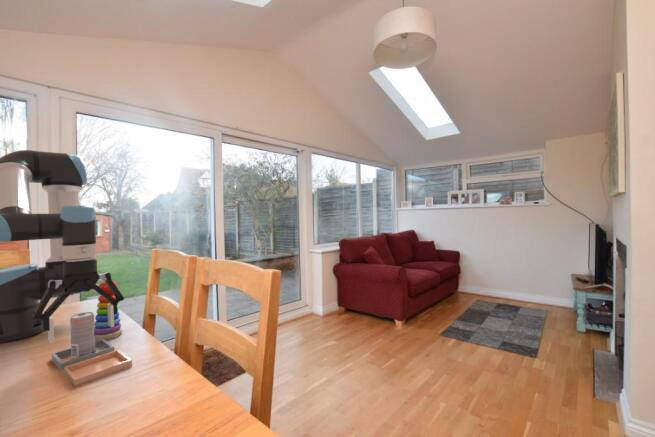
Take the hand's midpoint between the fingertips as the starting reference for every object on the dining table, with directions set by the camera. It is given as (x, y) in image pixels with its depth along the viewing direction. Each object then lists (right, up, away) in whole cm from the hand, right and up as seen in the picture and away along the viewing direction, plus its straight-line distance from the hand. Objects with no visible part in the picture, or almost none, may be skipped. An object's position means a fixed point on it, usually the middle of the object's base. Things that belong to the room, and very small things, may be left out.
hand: (83, 333), depth 86 cm
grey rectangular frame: (0, -7, 0) cm, 7 cm away
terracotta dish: (+10, -7, -8) cm, 14 cm away
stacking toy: (-3, -7, +14) cm, 16 cm away
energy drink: (0, -7, 0) cm, 7 cm away
